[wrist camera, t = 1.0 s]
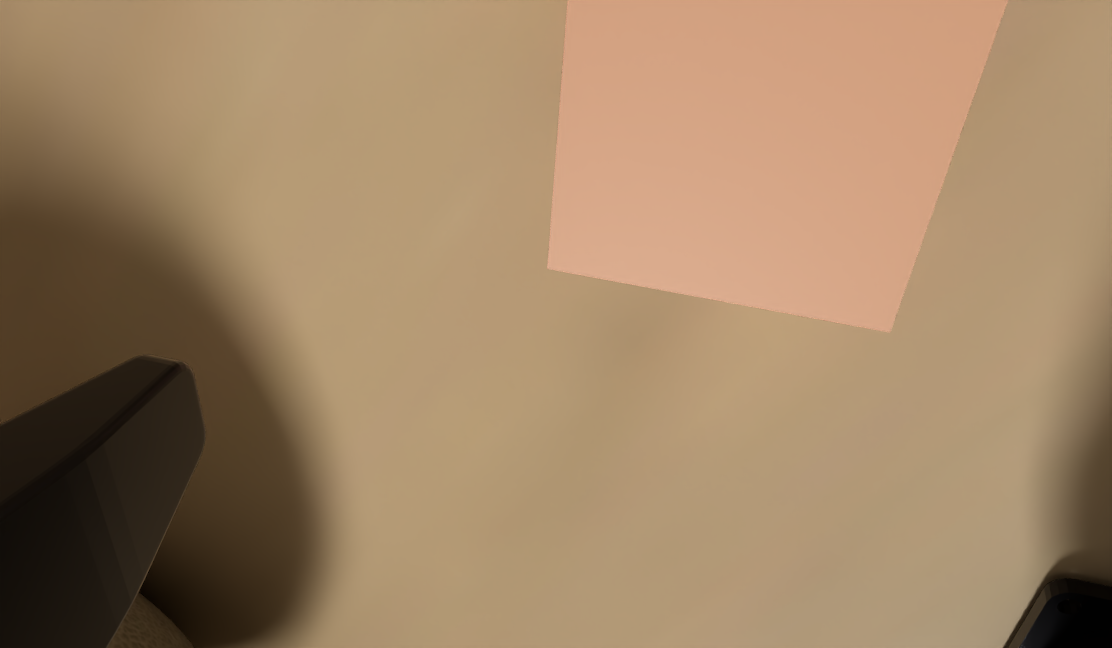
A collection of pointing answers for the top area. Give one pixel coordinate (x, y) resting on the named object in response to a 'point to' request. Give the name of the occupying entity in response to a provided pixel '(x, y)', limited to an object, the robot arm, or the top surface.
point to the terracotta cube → (762, 145)
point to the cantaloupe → (148, 628)
